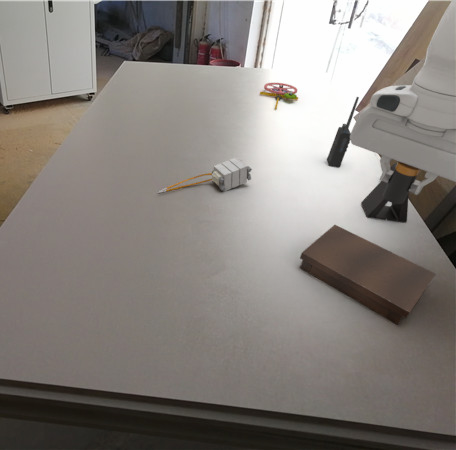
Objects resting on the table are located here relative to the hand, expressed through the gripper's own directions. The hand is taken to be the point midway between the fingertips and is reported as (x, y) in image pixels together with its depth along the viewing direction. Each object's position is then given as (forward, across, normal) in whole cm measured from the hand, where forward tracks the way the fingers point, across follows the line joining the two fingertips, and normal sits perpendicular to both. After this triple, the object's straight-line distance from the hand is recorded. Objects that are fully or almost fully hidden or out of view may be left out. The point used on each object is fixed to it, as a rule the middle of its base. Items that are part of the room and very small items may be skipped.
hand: (398, 186), depth 68 cm
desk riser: (+20, -1, +1) cm, 20 cm away
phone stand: (+20, +5, -26) cm, 33 cm away
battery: (+2, 0, 0) cm, 2 cm away
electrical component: (+20, +40, 0) cm, 45 cm away
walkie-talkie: (+20, +25, -41) cm, 52 cm away
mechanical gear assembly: (+20, +66, -77) cm, 103 cm away
